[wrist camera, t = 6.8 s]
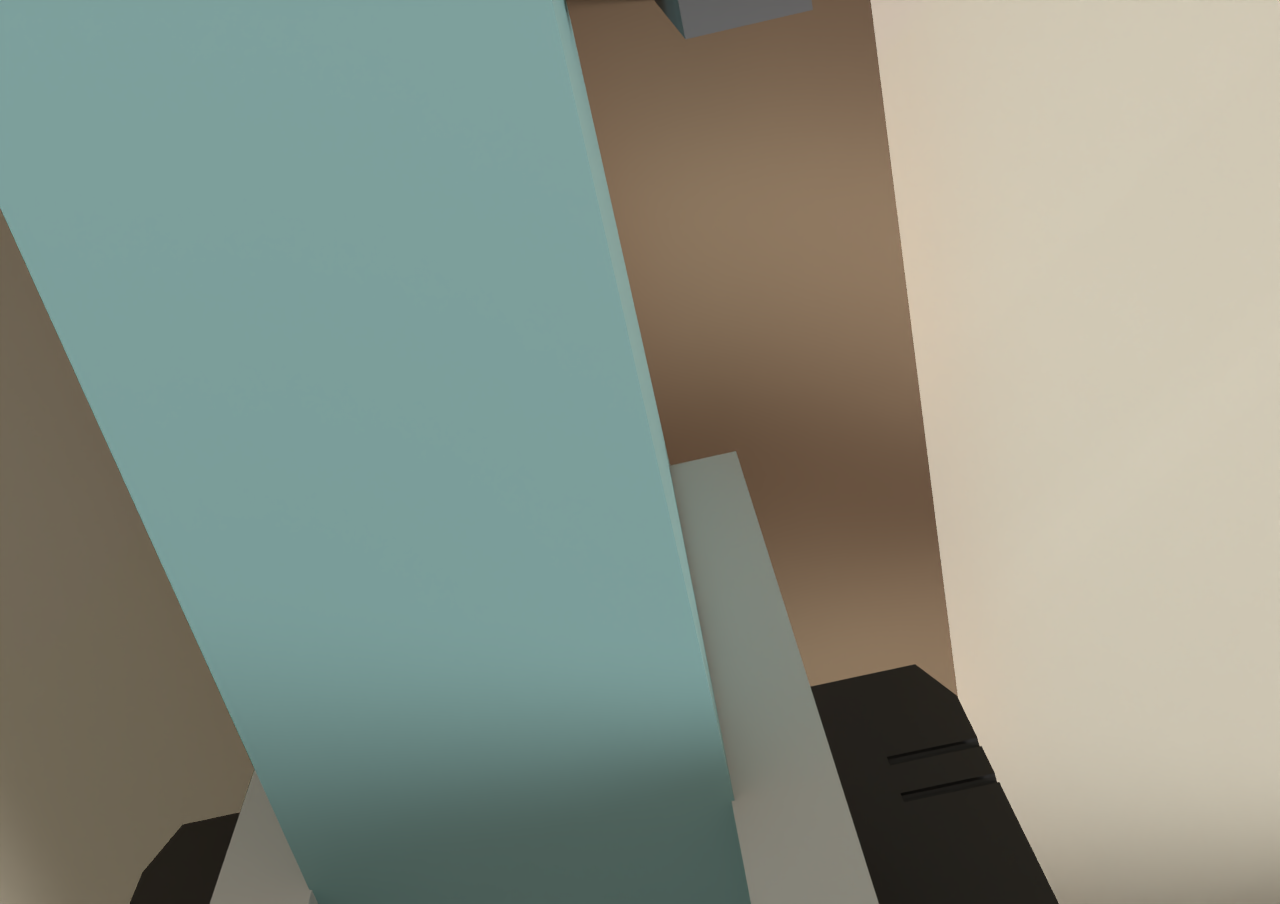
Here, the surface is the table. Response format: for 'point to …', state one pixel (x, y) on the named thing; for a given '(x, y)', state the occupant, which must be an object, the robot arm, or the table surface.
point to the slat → (385, 428)
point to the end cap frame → (778, 298)
